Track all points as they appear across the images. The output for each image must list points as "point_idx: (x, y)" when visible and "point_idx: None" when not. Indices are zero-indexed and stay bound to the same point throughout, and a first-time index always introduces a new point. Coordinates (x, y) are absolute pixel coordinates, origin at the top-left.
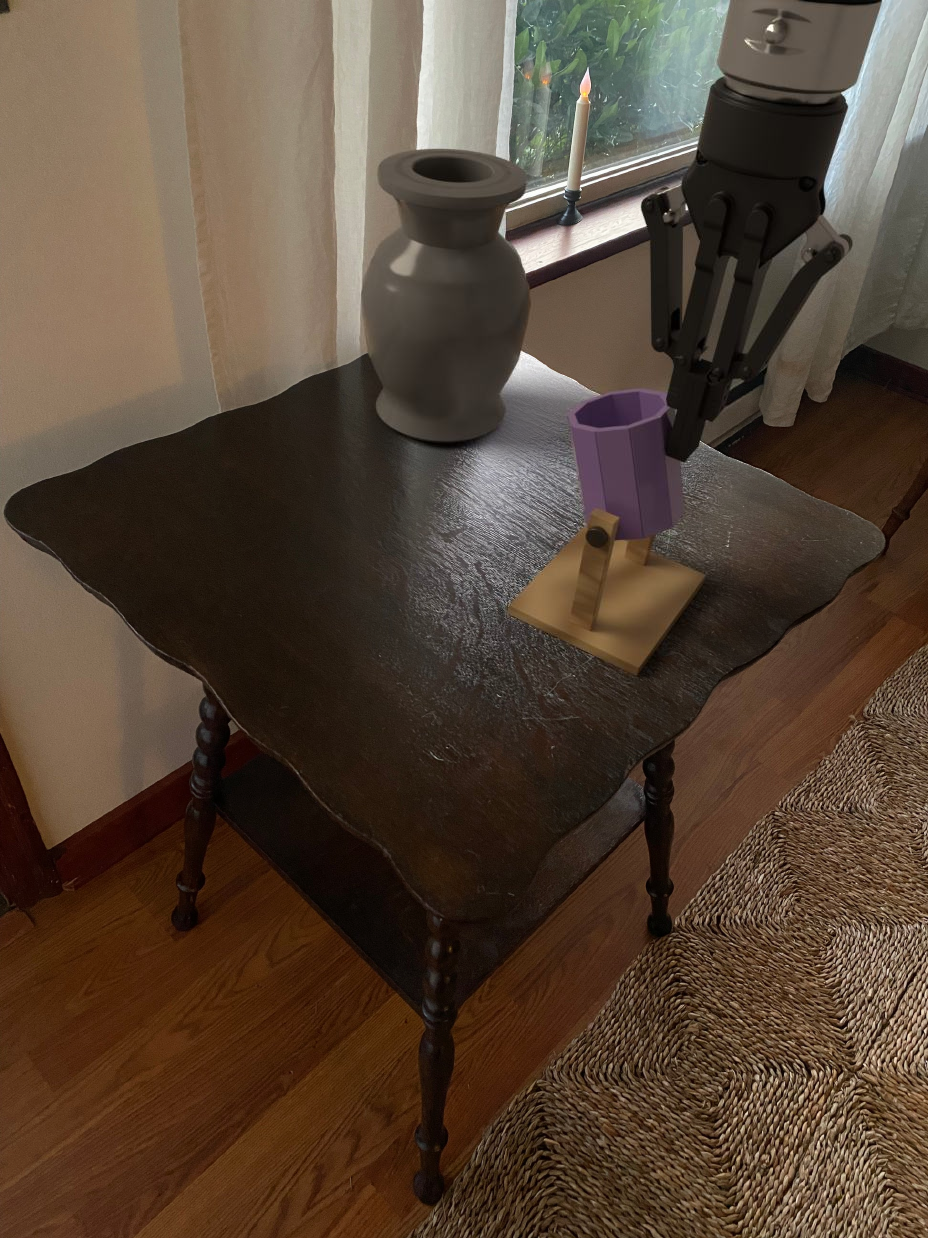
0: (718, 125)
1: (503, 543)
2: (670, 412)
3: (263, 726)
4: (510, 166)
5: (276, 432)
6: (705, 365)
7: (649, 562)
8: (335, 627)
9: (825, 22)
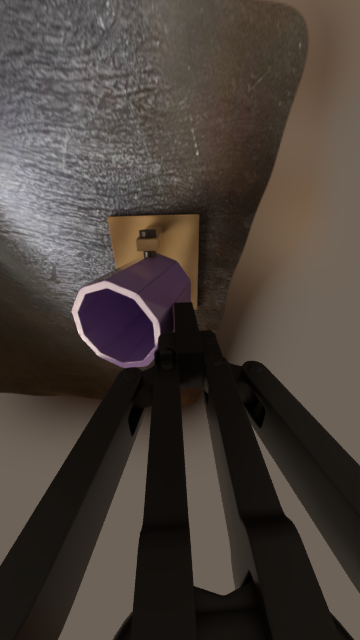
0: None
1: (81, 263)
2: (162, 328)
3: (101, 397)
4: None
5: None
6: (187, 363)
7: (163, 228)
8: (77, 358)
9: None
